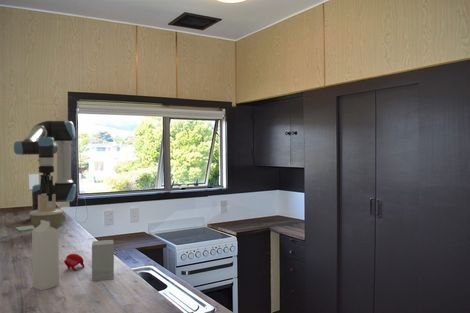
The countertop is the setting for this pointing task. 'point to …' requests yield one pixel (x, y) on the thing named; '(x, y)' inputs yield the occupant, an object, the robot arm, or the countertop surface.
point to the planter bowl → (53, 219)
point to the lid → (43, 208)
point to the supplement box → (102, 260)
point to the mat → (25, 228)
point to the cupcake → (62, 217)
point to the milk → (45, 256)
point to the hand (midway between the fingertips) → (46, 206)
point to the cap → (73, 261)
